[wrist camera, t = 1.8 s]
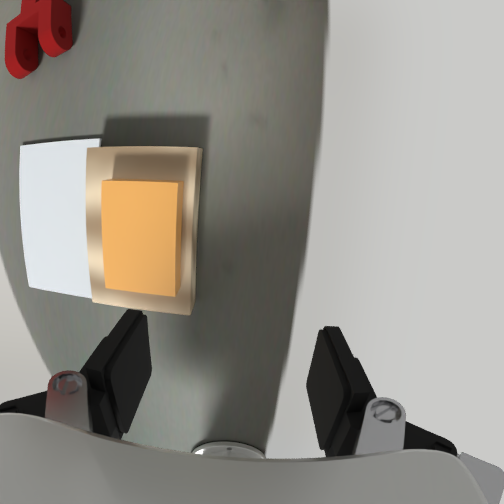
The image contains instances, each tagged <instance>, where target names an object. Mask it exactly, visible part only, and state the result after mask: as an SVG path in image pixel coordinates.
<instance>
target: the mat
mask: <svg viewBox="0 0 504 504" xmlns="http://www.w3.org/2000/svg"><path fill="white" fill-rule="evenodd" d="M90 147H101V139H100V138H99V139H83V140H69V141H58V142H48V143H39V144H31V145H23V146H20V213H21V227H22V238H23V248H24V256H25V263H26V270H27V276H28V282H29V287H33V288H38V289H43V290H48V291H53V292H59V293H64V294H70V295H75V296H81V297H87V298H92V293H91V284H90V275H89V264H88V251H87V235H86V156H87V148H90Z"/></svg>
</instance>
